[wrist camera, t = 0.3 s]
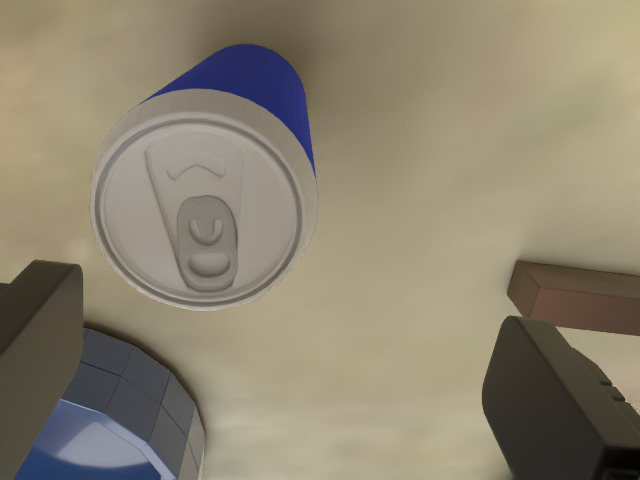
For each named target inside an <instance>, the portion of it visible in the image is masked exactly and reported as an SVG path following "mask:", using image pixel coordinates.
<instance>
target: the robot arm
mask: <svg viewBox="0 0 640 480" xmlns="http://www.w3.org/2000/svg"><path fill="white" fill-rule="evenodd" d="M82 347H83V273H82V269H81V267H80V265H78V264H70V263H61V262H53V261H44V260H34V261H32V262H31V263H30V264H29V265H28V266H27V267H26V268H25V269H24V270H23V271H22V272H21V273H20V274H19V275H18V276H17V277H16V278H15V279H14V280H13V281H12V282H11V283H10V284H6V283H0V480H13V479H14V477H15V476H16V474H17V472H18V470H19V469H20V467H21V465H22V464H23V462H24V460H25V458H26V457H27V455H28V453H29V451H30V450H31V448H32V446H33V445H34V443H35V441H36V439H37V438H38V436H39V434H40V433H41V431H42V429H43V427H44V426H45V424H46V422H47V421H48V419H49V417H50V415H51V414H52V412H53V410H54V409H55V407H56V405H57V403H58V402H59V400H60V398H61V396H62V395H63V393H64V391H65V390H66V388H67V386H68V384H69V383H70V381H71V379H72V378H73V376H74V374H75V372H76V370H77V367H78V365H79V361H80V357H81V353H82ZM482 405H483V410H484V414H485V416H486V418H487V421H488V423H489V425H490V427H491V429H492V431H493V434H494V436H495V438H496V440H497V442H498V444H499V447H500V449H501V451H502V453H503V455H504V457H505V459H506V462H507V464H508V466H509V468H510V470H511V472H512V475H513V477H514V479H515V480H640V416H639V415H638V413H637V412H636V411H635V410H634V409H633V407H632V406H631V405H630V404H629V403H627V402H625V398H624V397H623V395H622V394H621V393H620V392H619V391H618V389H617V388H616V387H612V382H611V381H610V380H609V379H608V377H607V376H606V375H605V374H604V373H603V371H602V370H601V369H600V368H599V367H598V365H597V364H595V363H594V362H592V361H591V360H590V359H588V358H587V357H586V356H584V355H583V354H581V353H580V352H579V351H577V350H576V349H575V348H572V347H571V346H570V345H569V344H568V342H567V341H566V340H565V339H564V337H563V336H562V335H561V334H560V332H559V331H558V330H557V329H556V327H555V326H554V325H553V324H552V323H551V322H550V321H549V320H544V319H536V318H527V317H518V316H508V317H507V318H506V319H505V320H504V321H503V323H502V325H501V328H500V331H499V334H498V338H497V341H496V344H495V347H494V350H493V353H492V357H491V360H490V363H489V366H488V369H487V373H486V376H485V379H484V383H483V388H482Z"/></svg>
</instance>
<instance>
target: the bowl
mask: <svg viewBox="0 0 640 480" xmlns="http://www.w3.org/2000/svg"><path fill="white" fill-rule="evenodd" d="M205 442H206V439H205V434H204V430H203V427H202V424H201V420H200V417H199V414H198V411H197V407H196V404H195V402H194V401H193V400H192V398H191V397H190V396H189V394H188V393H187V392H186V391H185V389H184V388H183V387H182V385H181V384H180V383H179V381H178V380H177V379H176V377H175V376H174V375H173V373H172V372H171V371H170V370H168V369H167V368H165V367H164V366H163V365H161V364H160V363H158V362H157V361H156V360H154V359H153V358H152V357H150V356H149V355H147V354H146V353H145V352H143V351H142V350H141V349H139V348H138V347H136V346H134V345H132V344H130V343H127V342H124V341H122V340H119V339H116V338H114V337H111V336H108V335H106V334H103V333H100V332H98V331H95V330H92V329H90V330H89V329H88V328H83V347H82V353H81V357H80V361H79V365H78V367H77V370H76V372H75V374H74V376H73V378H72V379H71V381H70V383H69V384H68V386H67V388H66V390H65V391H64V393H63V395H62V396H61V398H60V400H59V402H58V403H57V405H56V407H55V409H54V410H53V412H52V414H51V415H50V417H49V419H48V421H47V422H46V424H45V426H44V427H43V429H42V431H41V433H40V434H39V436H38V438H37V439H36V441H35V443H34V445H33V446H32V448H31V450H30V451H29V453H28V455H27V457H26V458H25V460H24V462H23V464H22V465H21V467H20V469H19V470H18V472H17V474H16V476H15V477H14V479H13V480H201V476H202V471H203V462H204V452H205Z"/></svg>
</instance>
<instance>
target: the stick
mask: <svg viewBox="0 0 640 480" xmlns="http://www.w3.org/2000/svg"><path fill="white" fill-rule="evenodd" d="M507 295H508V297H509V298H510V299H511V301H512V302H513V304H514V305H515V306H516V308H517V309H518V310H519V312H520V313H521V315H522V316H523V317H527V318H536V319H544V320H549V321H550V322H551V323H552V324H553V325H554V326H557V327H565V328H574V329H583V330H591V331H600V332H609V333H618V334H626V335H635V336H640V277H639V276H631V275H623V274H615V273H607V272H599V271H591V270H583V269H575V268H567V267H559V266H551V265H543V264H535V263H527V262H519V261H518V262H517V263H516V266H515V270H514V273H513V276H512V279H511V283H510V286H509V289H508V292H507Z"/></svg>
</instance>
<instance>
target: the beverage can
mask: <svg viewBox="0 0 640 480" xmlns="http://www.w3.org/2000/svg"><path fill="white" fill-rule="evenodd" d="M89 209H90V218H91V225H92V228H93V232H94V235H95V238H96V241H97V243H98V245H99V247H100V249H101V251H102V253H103V255H104V256H105V258H106V259H107V261H108V262H109V264H110V265H111V267H112V268H113V269H114V270H115V271H116V272H117V273H118V274H119V275H120V276H121V277H122V278H123V279H124V280H125V281H126V282H127V283H129V284H130V285H131V286H132V287H134V288H135V289H136V290H138V291H140V292H141V293H143V294H145V295H146V296H148V297H150V298H152V299H154V300H157V301H159V302H161V303H164V304H167V305H170V306H174V307H177V308H182V309H189V310H196V311H214V310H222V309H229V308H232V307H236V306H240V305H243V304H246V303H248V302H250V301H253V300H255V299H257V298H259V297H260V296H262V295H264V294H265V293H267V292H268V291H270V290H271V289H272V288H274V287H275V286H276V285H277V284H278V283H279V282H281V281H282V280H283V278H284V277H285V276H286V275H287V274H288V273H289V272H290V271H291V270H292V268H293V267H294V266H295V265H296V264H297V262H298V261H299V260H300V259H301V257H302V255H303V254H304V252H305V250H306V249H307V247H308V245H309V243H310V240H311V238H312V235H313V233H314V230H315V225H316V220H317V215H318V190H317V183H316V175H315V167H314V159H313V152H312V144H311V136H310V129H309V121H308V113H307V106H306V98H305V92H304V89H303V85H302V83H301V81H300V78H299V76H298V75H297V73H296V72H295V70H294V69H293V67H292V66H291V65H290V64H289V63H288V62H287V61H286V60H285V59H284V58H282V57H281V56H280V55H279V54H277V53H275V52H273V51H272V50H270V49H267V48H264V47H262V46H257V45H250V44H241V45H233V46H230V47H226V48H224V49H222V50H220V51H218V52H216V53H214V54H213V55H211V56H210V57H208V58H207V59H205V60H204V61H202V62H201V63H199V64H198V65H196V66H195V67H193V68H192V69H190V70H189V71H188V72H186V73H185V74H183V75H182V76H180V77H179V78H177V79H176V80H174V81H173V82H171V83H170V84H168V85H167V86H165V87H164V88H162V89H161V90H159V91H158V92H156V93H155V94H153V95H152V96H150V97H149V98H148V99H146V100H145V101H143V102H142V103H140V104H139V105H137V106H136V107H135V108H133V109H132V110H130V111H129V112H128V113H126V114H125V115H124V116H123V117H122V118H121V119H120V120H119V121H118V122H117V123H116V124H115V125H114V126H113V127H112V129H111V130H110V132H109V133H108V135H107V136H106V138H105V139H104V141H103V142H102V144H101V147H100V149H99V151H98V154H97V156H96V159H95V163H94V167H93V171H92V176H91V190H90V206H89Z"/></svg>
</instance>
